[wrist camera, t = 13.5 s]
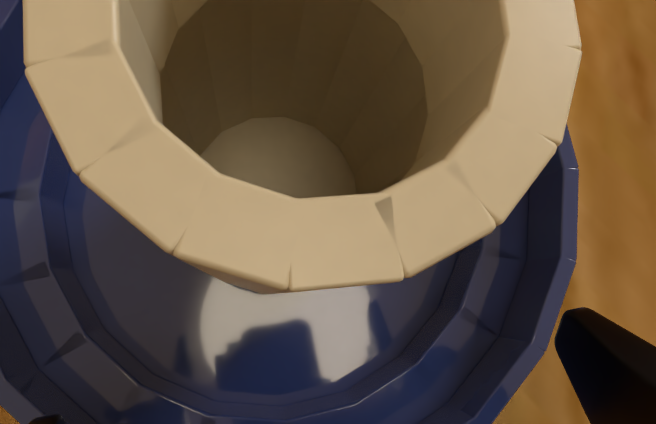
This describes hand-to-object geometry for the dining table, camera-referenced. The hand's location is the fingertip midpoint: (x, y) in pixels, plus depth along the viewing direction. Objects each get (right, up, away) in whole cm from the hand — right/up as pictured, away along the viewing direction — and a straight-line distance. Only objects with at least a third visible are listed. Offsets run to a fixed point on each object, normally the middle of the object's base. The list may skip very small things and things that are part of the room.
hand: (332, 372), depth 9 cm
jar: (-2, +3, +9) cm, 9 cm away
